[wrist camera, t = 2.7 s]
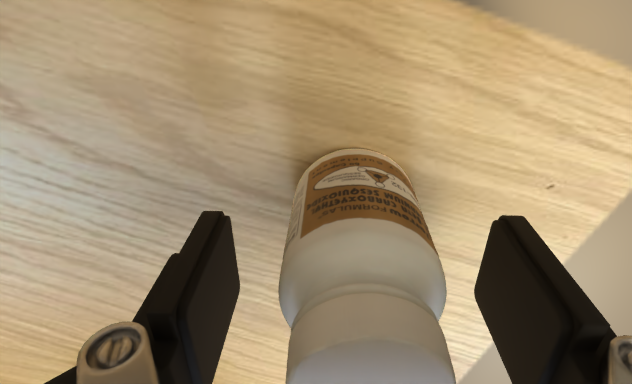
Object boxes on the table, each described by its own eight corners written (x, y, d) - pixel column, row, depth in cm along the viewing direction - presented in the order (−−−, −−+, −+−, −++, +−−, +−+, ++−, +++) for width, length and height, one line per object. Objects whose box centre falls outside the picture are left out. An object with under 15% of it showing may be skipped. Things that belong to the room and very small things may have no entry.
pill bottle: (427, 156, 13) (523, 341, 7) (393, 252, 15) (439, 465, 9) (304, 133, 13) (273, 302, 6) (287, 235, 15) (250, 439, 8)
